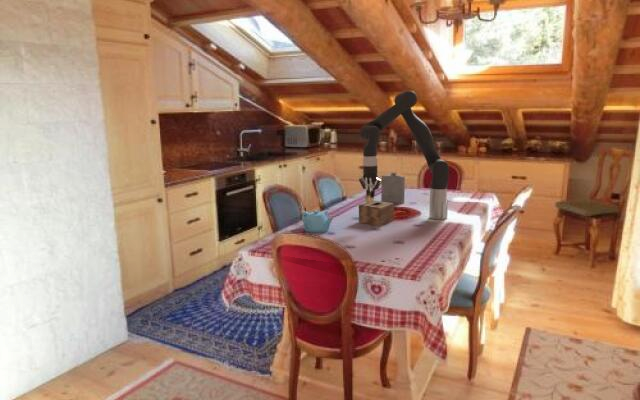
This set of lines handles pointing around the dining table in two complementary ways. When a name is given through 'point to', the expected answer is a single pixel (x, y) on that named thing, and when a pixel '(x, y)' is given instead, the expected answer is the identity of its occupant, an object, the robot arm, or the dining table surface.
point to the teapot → (316, 221)
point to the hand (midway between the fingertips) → (370, 197)
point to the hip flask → (393, 188)
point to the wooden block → (369, 198)
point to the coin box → (376, 213)
